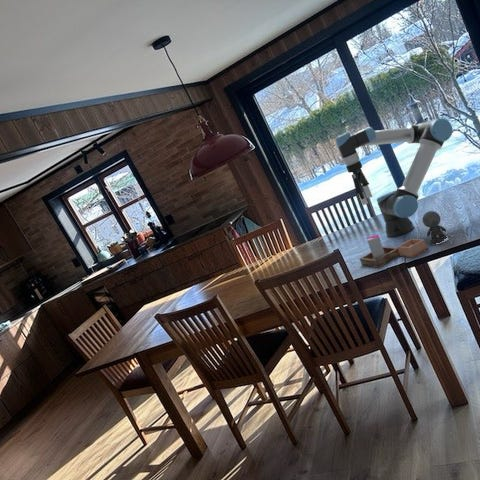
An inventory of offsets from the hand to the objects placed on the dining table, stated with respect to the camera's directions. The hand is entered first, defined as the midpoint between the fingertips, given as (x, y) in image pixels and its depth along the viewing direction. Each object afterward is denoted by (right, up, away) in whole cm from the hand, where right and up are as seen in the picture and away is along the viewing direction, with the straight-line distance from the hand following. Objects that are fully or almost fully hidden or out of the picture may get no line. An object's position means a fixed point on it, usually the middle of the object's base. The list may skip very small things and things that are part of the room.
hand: (367, 200), depth 229 cm
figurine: (+28, -21, -21) cm, 41 cm away
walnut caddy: (+3, -30, -11) cm, 32 cm away
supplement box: (+3, -30, -11) cm, 32 cm away
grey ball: (+15, -26, -21) cm, 37 cm away
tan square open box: (+16, -26, -21) cm, 37 cm away
